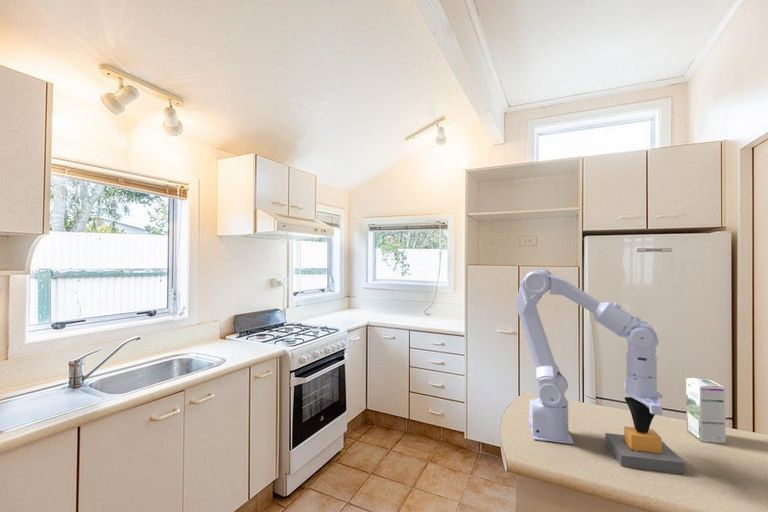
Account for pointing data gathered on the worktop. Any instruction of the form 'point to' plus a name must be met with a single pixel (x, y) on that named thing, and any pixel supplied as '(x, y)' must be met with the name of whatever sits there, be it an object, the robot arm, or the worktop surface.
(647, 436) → the plug
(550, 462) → the worktop surface
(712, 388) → the syrup box
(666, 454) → the socket
